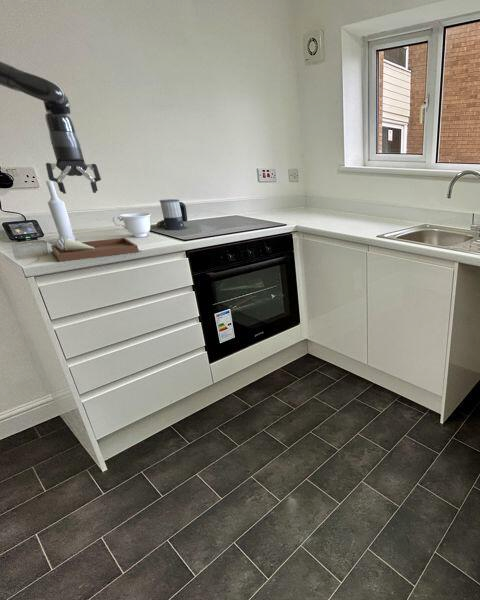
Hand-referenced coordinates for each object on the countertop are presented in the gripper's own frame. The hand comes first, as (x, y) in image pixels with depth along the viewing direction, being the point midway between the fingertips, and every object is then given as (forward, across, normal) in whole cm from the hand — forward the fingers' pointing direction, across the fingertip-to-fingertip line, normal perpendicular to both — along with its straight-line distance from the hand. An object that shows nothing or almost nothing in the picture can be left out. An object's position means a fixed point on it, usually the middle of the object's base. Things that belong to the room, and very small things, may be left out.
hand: (79, 193), depth 130 cm
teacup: (+22, -19, -25) cm, 39 cm away
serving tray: (+22, 0, 0) cm, 22 cm away
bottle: (+23, +5, -31) cm, 39 cm away
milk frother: (+22, -38, -41) cm, 60 cm away
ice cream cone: (+21, 0, -1) cm, 21 cm away
